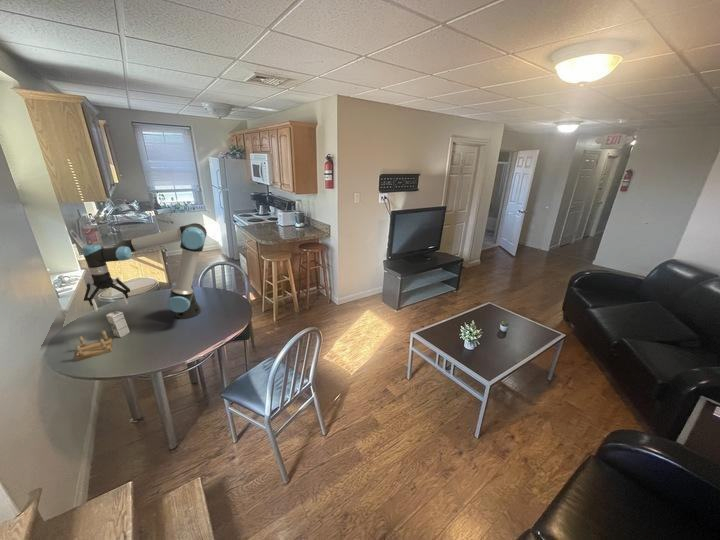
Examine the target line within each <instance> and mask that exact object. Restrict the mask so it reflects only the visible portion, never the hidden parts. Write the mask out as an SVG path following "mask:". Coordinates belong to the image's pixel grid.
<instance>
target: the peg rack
mask: <svg viewBox="0 0 720 540" xmlns="http://www.w3.org/2000/svg"><path fill="white" fill-rule="evenodd" d="M101 335H102V338H101V339H99V340H98V341H94V342H91V343H87V344H86V342H85V339H84V337H83V335H80V336H78V341H79V342H80V345H79V344H78V345H75V346H74V347H75V349H76V354H75V361H76V362H80V361H83V360H86V359H90V358H93V357H94V358H95V357H98V356H101V355H104V354H107V353H110V352H112V348H113V343H114V342H113V341H114V340H113V337H110V338H109V337H108V334H107V332H106V330H104V329H103V330H101Z"/></svg>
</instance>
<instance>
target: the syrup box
mask: <svg viewBox="0 0 720 540" xmlns="http://www.w3.org/2000/svg"><path fill="white" fill-rule="evenodd" d="M105 316H106V319H107V322H108V324H109V325H110V329H111V332H112V334H113V336H114V337H118V338H122V337H124V336H127V335H129V334H130V328H129V326H128V324H127V321H126V319H125V318H126V317H125V316H124V312H123V311H118V310H114V311H111V312H109V313H108V314H106V315H105Z"/></svg>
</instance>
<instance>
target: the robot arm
mask: <svg viewBox="0 0 720 540" xmlns="http://www.w3.org/2000/svg"><path fill="white" fill-rule="evenodd" d="M207 233H208V232H207V229H206V228H205V226H203V225H202V224H201V223H197V222H195V223H188V224H186V225H182V226H179V227H178V228H177V229H176V228H175V229H171V230H168V231H162V232H157V233H153V234H149V235H144V236H139V237H136V238H132V239H127V238H126V239H122V240H120V241H119V242H118V243H117V244H114V246H111V247H107V248H106V247H102V246H101V245H100V244H87V245H85V246H83V247H82V248H81V250H82V254H83V257H84V259H85V262H86V264H87V267H88V271H89V273H90V274H91V278H92V282H87V283H86V291H85V295H84V298H83V302H86V301H87V302H89V304H90V306H91V307H93V308H94V310H95V312H97V311H98V310H99V308H98V305H97V303H96V299H95V296H96V294H97V293H98V292H99V290H100V289H101V290H105V289H110V288H111V289H115V290H117V292H120V293H122V296H123V299H124V302H125V305H128V304H129V302H128V299H129V293H130V292H131V289H130V288H129V287H128V286H127V285H126V284H125V283H123V282H122V281H121V279H120V277H116V278H112V277H111V274H110V271H109V267H108V265H107V263H108V262H109V263H110V262H121V261H122V262H123V261H128V260H130V259H132V255H133V253H136V252H140V251H144V250H147V249H152V248H153V249H154V248H157V247H161V246H165V245H169V244H175V243H180V246H179V248H180V249H181V255H180V256H181V257H180V261H179V265H178V270H177V275H176V279H175V282H174V283H171V285H170V286H171V289H170V293H169V298H168V300H167V308H168V309H169V310H170V311H172V312H175V317H176V318H178V319H181V320H183V319H184V320H186V319H191V318H194V317H196V316H198V315H199V314H201V313H202V307H201V306H200V304H199V303H198V301H197V298H196V294H195V291H194V285H193V281H194V277H195V272H196V268H197V264H198V260H199V259H198V258H199V254H200V253H201V252H203V251H204V246H205V242H206V238H207ZM114 283H117V284H118V285H116V284H114ZM93 286H95V289H94V291H93V292H92V293H91V295H90V296H89V293H90V291H91V288H92V287H93Z"/></svg>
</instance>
